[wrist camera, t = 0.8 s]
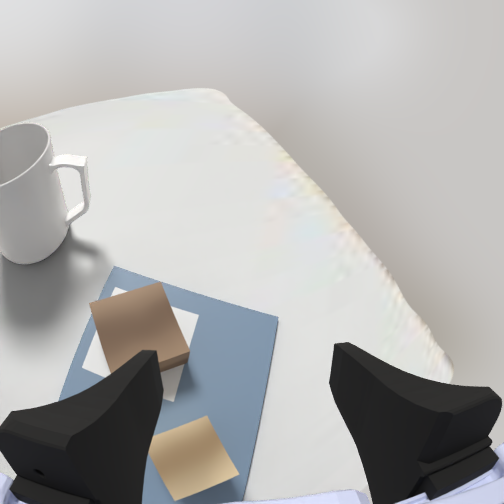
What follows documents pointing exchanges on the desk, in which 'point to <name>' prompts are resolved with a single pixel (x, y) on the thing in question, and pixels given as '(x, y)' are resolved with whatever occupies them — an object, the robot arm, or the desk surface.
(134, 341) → the walnut base
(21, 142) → the mug
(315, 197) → the desk surface
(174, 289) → the mat
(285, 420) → the desk surface
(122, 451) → the robot arm
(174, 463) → the maple block
